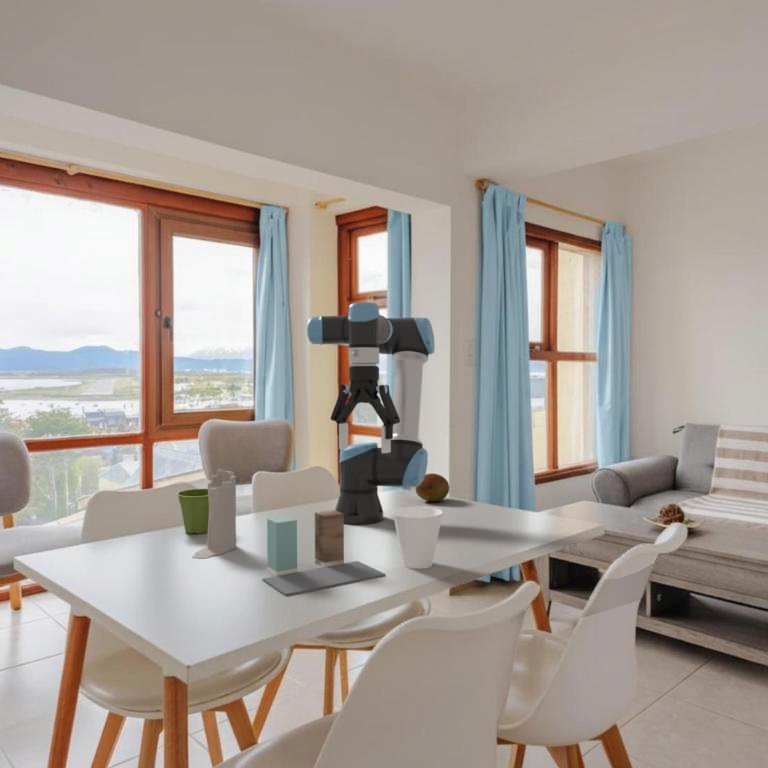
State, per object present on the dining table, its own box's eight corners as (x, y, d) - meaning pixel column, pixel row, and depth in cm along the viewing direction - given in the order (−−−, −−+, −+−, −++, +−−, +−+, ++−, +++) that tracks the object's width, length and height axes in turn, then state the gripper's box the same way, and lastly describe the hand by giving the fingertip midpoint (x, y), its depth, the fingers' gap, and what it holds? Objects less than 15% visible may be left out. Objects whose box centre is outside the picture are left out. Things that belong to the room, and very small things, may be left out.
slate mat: (262, 580, 142) (262, 578, 142) (357, 562, 155) (357, 560, 155) (285, 596, 132) (285, 594, 132) (385, 575, 145) (385, 573, 145)
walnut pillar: (315, 563, 155) (314, 512, 155) (333, 559, 158) (333, 510, 157) (324, 568, 151) (324, 516, 151) (343, 564, 153) (343, 513, 153)
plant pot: (167, 534, 183) (167, 494, 183) (194, 525, 194) (194, 487, 194) (202, 538, 179) (202, 497, 179) (228, 528, 190) (227, 489, 190)
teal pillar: (267, 571, 148) (267, 518, 148) (287, 567, 151) (287, 516, 151) (276, 577, 144) (276, 522, 144) (297, 573, 147) (296, 520, 147)
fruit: (413, 504, 224) (413, 475, 224) (418, 497, 237) (418, 470, 236) (448, 505, 222) (447, 476, 222) (450, 498, 235) (450, 470, 235)
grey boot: (185, 557, 160) (184, 475, 160) (218, 543, 173) (217, 468, 173) (210, 559, 158) (209, 477, 158) (241, 545, 171) (241, 469, 171)
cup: (428, 575, 145) (428, 519, 145) (382, 566, 151) (382, 513, 151) (451, 562, 155) (451, 509, 155) (408, 554, 161) (408, 504, 161)
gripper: (316, 365, 167) (317, 448, 167) (395, 364, 152) (395, 455, 152) (336, 366, 173) (336, 446, 173) (413, 364, 158) (414, 452, 158)
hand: (364, 450), depth 163 cm, fingers open, 13 cm apart
